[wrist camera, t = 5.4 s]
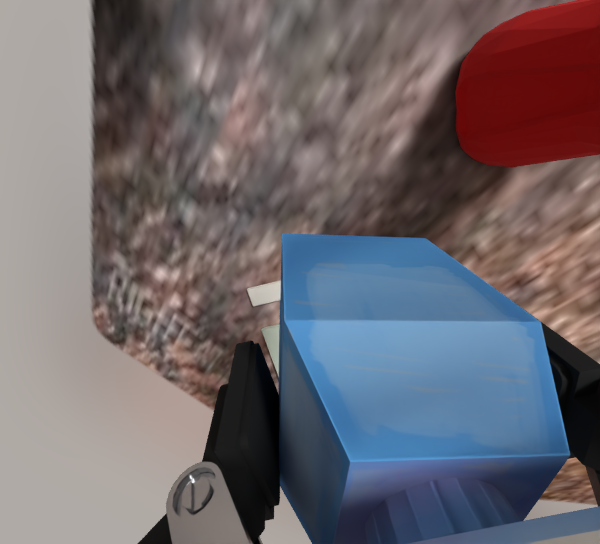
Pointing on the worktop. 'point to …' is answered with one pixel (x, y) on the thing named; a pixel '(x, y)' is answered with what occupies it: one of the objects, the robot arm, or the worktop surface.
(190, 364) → the worktop surface
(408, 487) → the perfume bottle
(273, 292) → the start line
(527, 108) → the water bottle
